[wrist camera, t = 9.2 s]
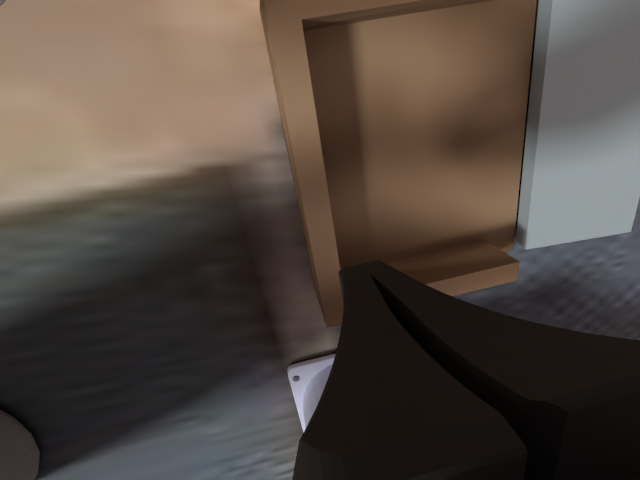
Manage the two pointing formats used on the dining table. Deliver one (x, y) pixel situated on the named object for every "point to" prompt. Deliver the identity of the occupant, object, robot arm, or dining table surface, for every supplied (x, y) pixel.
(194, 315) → the dining table surface
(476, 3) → the brown shallow open box
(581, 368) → the robot arm
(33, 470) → the canister
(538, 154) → the cabinet door
